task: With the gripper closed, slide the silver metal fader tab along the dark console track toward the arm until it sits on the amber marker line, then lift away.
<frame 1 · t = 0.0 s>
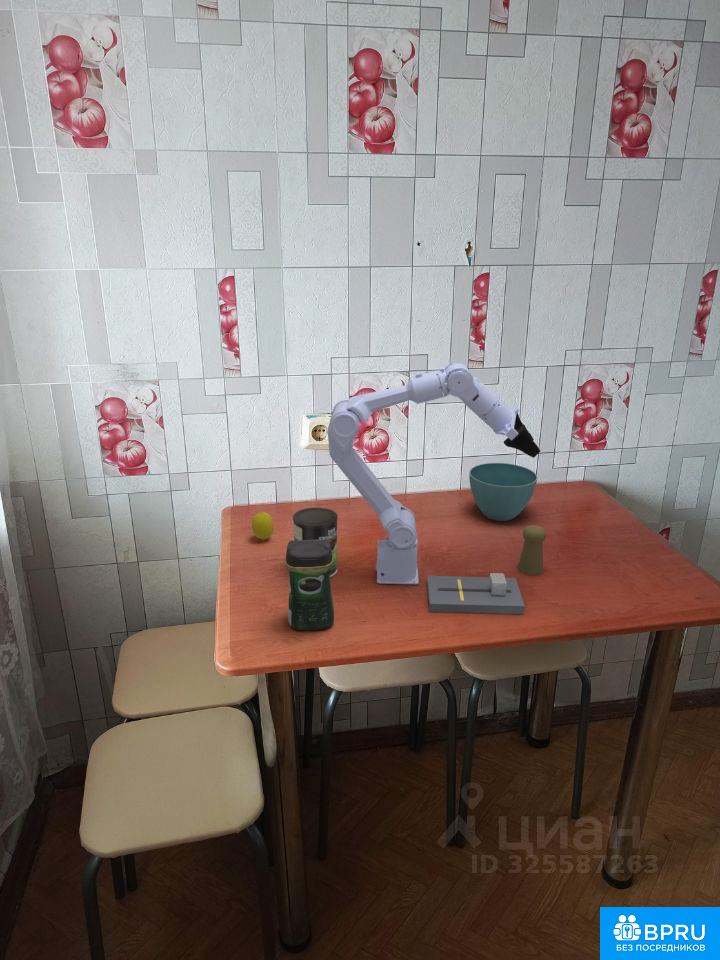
hand: (533, 448, 155), 32 cm above the table, tool tilted 50°, fingers open, 7 cm apart
coffee can: (316, 570, 171), on the table
teal bowl: (499, 515, 201), on the table
console: (473, 598, 159), on the table
fader: (497, 584, 158), point 4 cm above the table, slide at 0.0 cm
cork: (530, 570, 172), on the table
coffee jar: (310, 622, 150), on the table
lemon: (263, 540, 185), on the table
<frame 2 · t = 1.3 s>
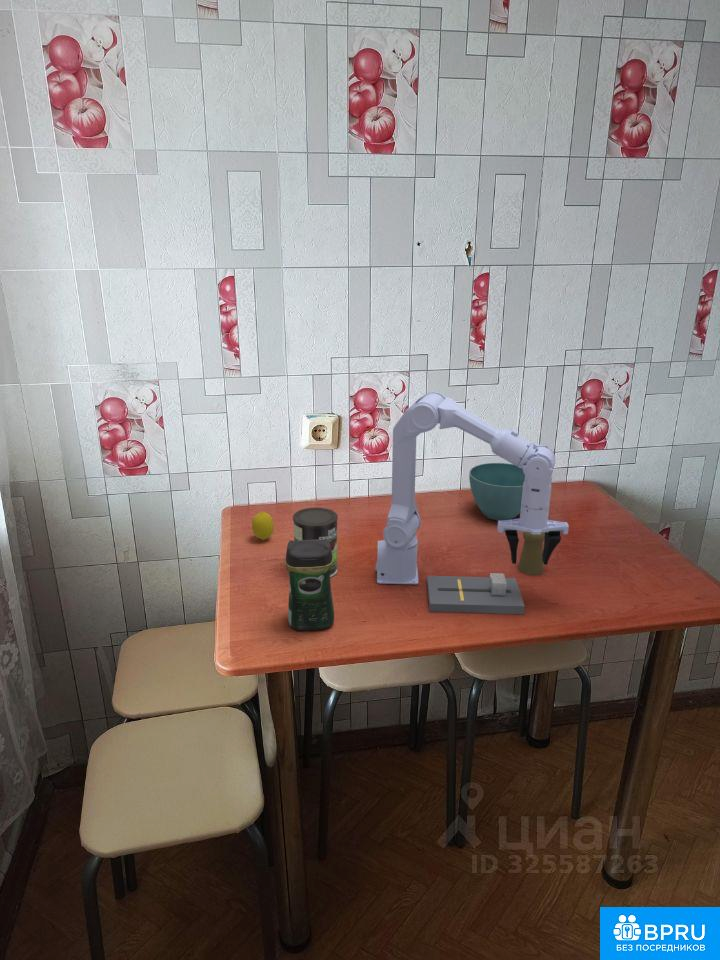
hand: (529, 561, 156), 9 cm above the table, tool pointing down, fingers open, 6 cm apart
nothing on the table moved.
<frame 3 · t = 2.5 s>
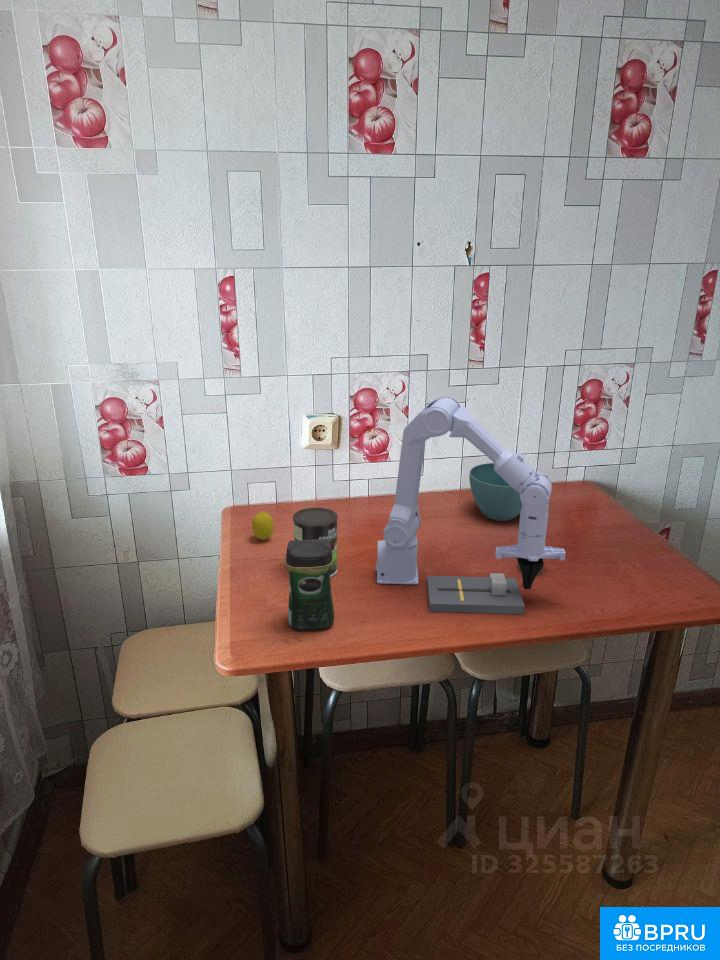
hand: (526, 587, 158), 3 cm above the table, tool pointing down, fingers closed
nothing on the table moved.
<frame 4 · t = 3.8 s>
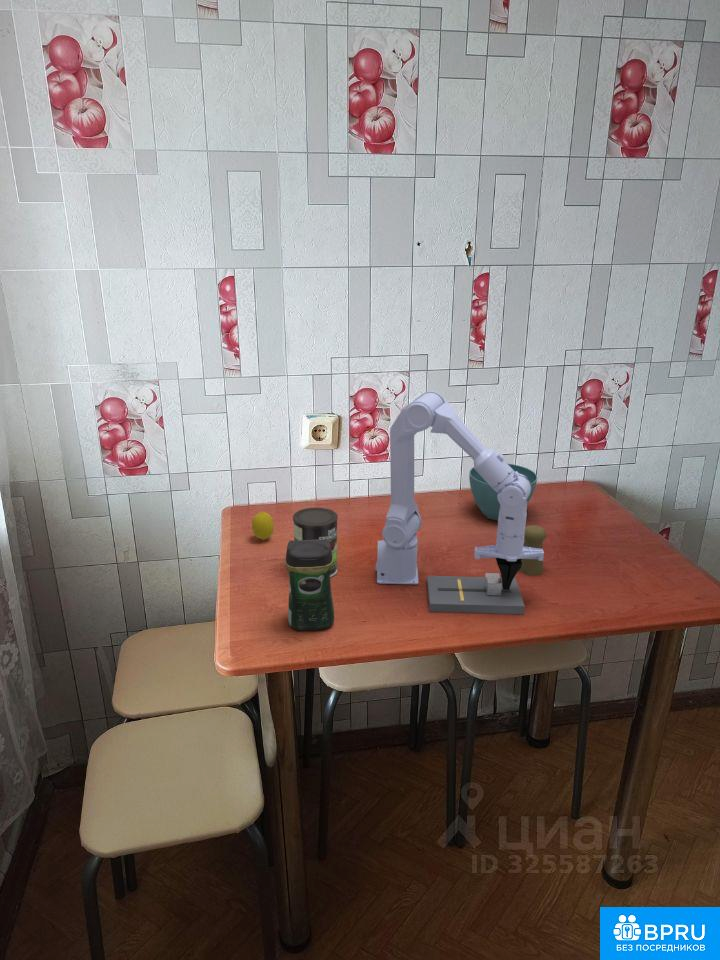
hand: (505, 587, 158), 3 cm above the table, tool pointing down, fingers closed
fader: (493, 584, 158), point 4 cm above the table, slide at 1.0 cm, touching gripper
everything else where it was.
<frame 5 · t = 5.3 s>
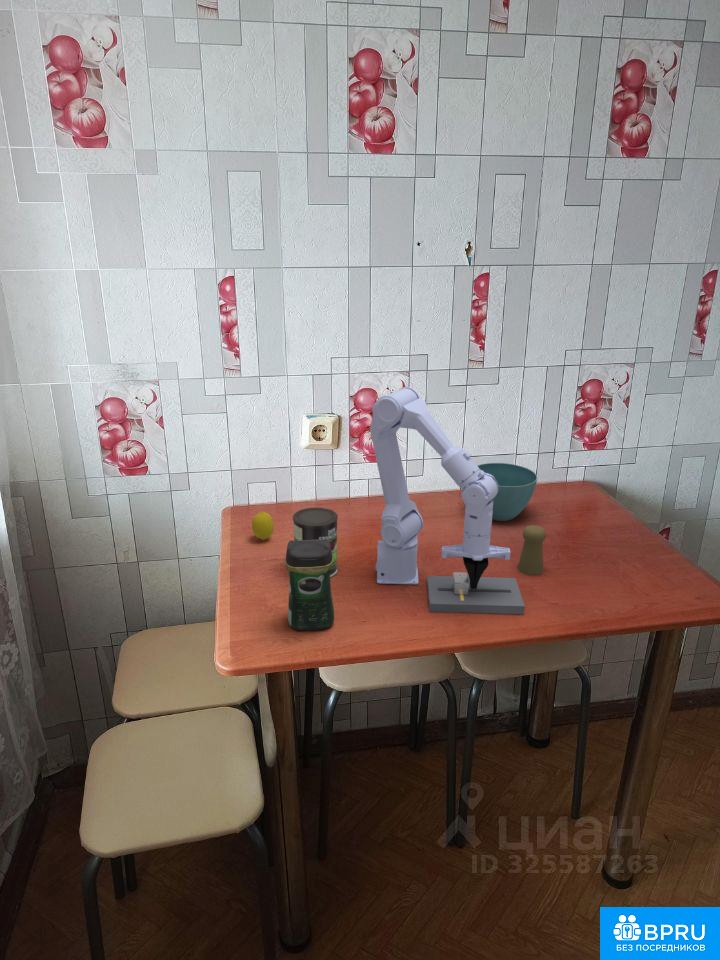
hand: (473, 586, 158), 3 cm above the table, tool pointing down, fingers closed
fader: (460, 583, 158), point 4 cm above the table, slide at 8.1 cm, touching gripper
everything else where it was.
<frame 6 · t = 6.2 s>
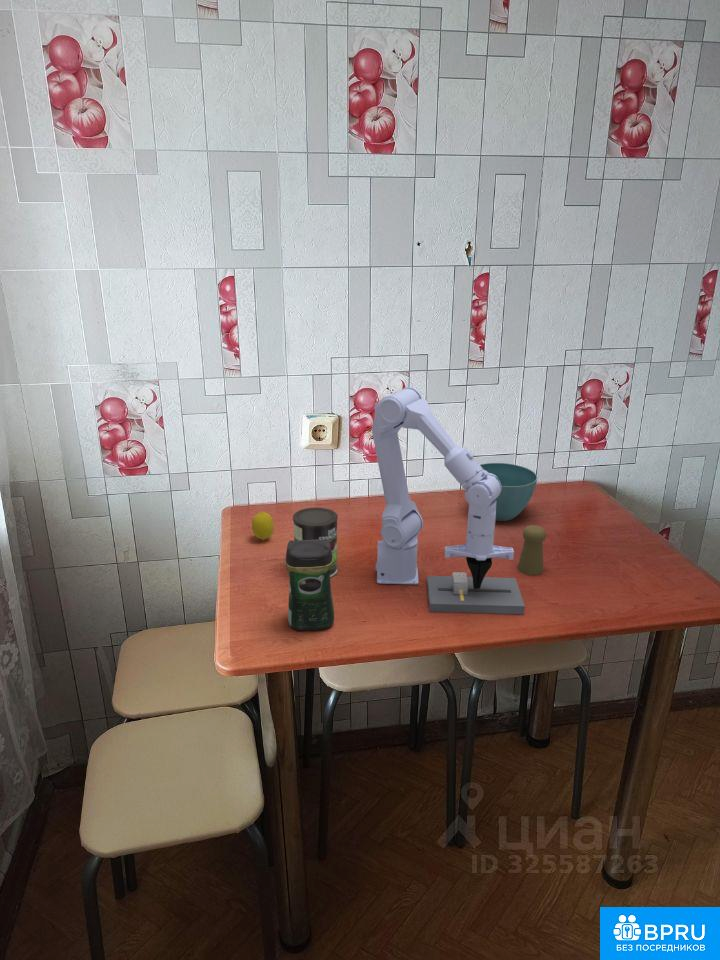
hand: (476, 586, 158), 3 cm above the table, tool pointing down, fingers closed
fader: (459, 583, 158), point 4 cm above the table, slide at 8.3 cm
everything else where it was.
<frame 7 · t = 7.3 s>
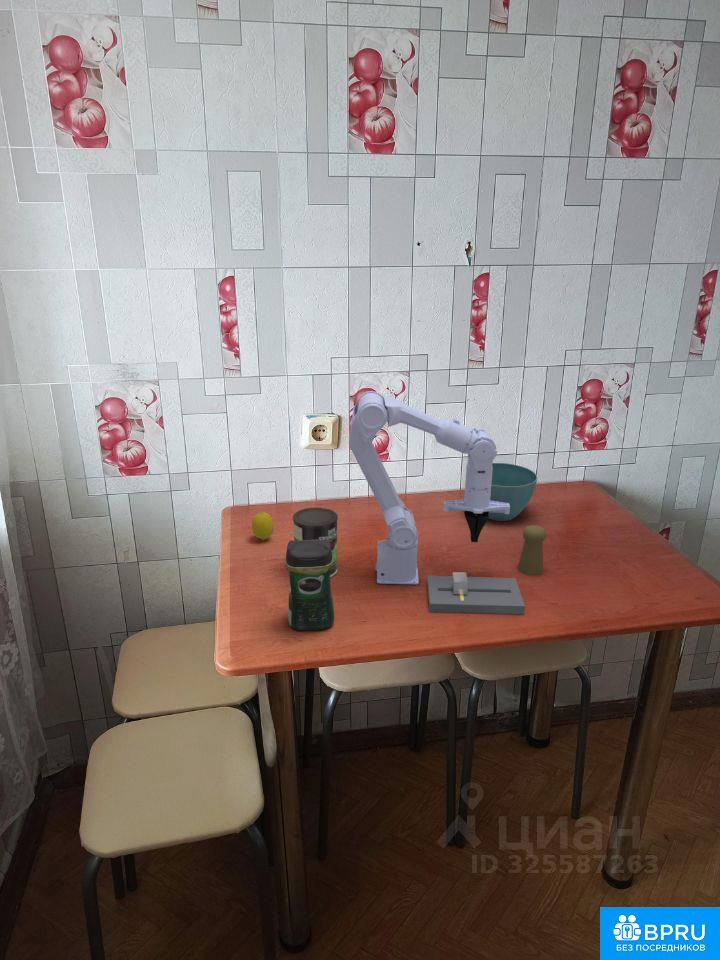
hand: (474, 540, 165), 9 cm above the table, tool pointing down, fingers closed
nothing on the table moved.
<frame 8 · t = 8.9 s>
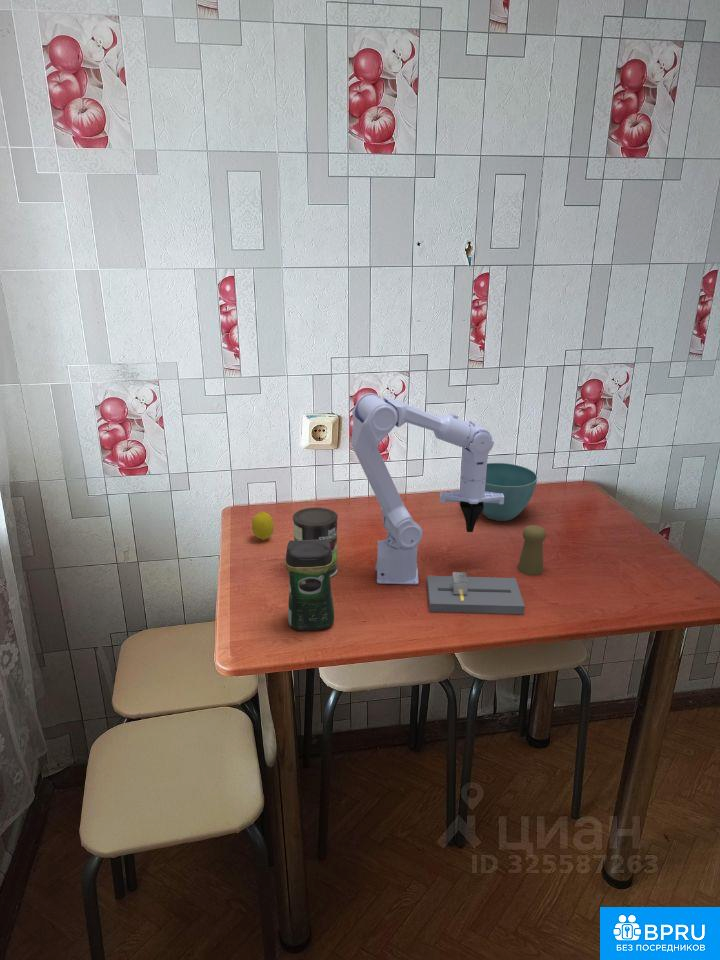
hand: (469, 530, 170), 9 cm above the table, tool pointing down, fingers closed
nothing on the table moved.
at the end: fader slide at 8.3 cm; cork moved 0.2 cm from its start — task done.
